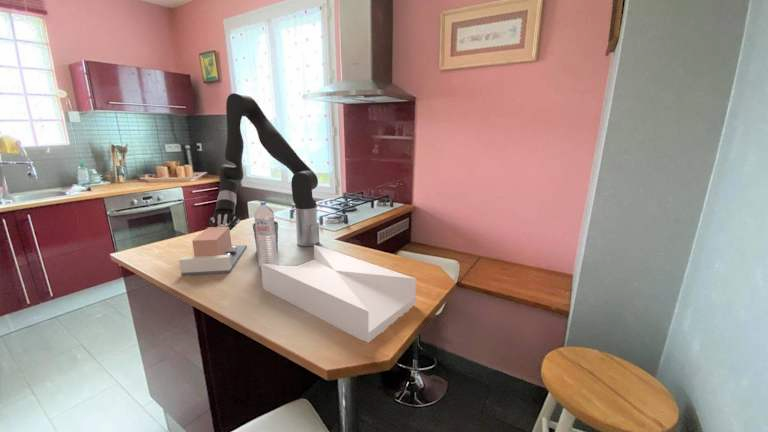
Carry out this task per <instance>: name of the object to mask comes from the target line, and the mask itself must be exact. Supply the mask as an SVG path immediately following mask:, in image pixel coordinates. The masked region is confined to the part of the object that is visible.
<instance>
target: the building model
mask: <svg viewBox="0 0 768 432" xmlns="http://www.w3.org/2000/svg"><path fill="white" fill-rule="evenodd" d="M313 258H314V259H312V260H310V261H307V262H305V263H301V264H299V265H296V266H292V265H289V266H288V265H282V264H281V265H280V264H277V265H272V264H263V263H261V268H260V269H261V281H262V289H263V290H265V291H267V292H269V293H271V294H272V295H275V296H277V297H279V298H280V299H283V301H286V302H288V303H290V304H291V305H294V306H296V307H297V308H300V309H301V310H303V311H306V312H307V313H309V314H311V315H313V316H315V317H317V318H318V319H321V320H322V321H324V322H326V323H327V324H330V325H332V326H334V327H336V328H338V329H339V330H342V331H343V332H345V333H347V334H348V335H351V336H353V337H355V338H357V339H358V338H359V340H360V339H361V341H362V340H364V341H366V342H368V343H369V342H370V341H371V340H372V339H374V338H375V337H376V336H377V335H378V334H379V333H381V332H382V331H383V330H384V329H385V328H387V327H388V326H389V325H390V324H392V323H393V322H394V321H395V320H396V319H397V318H398V317H400V316H401V315H402V314H403V313H405V312H406V311H407V310H408V309H409V308H411V307H412V306H413V305H414V304H415V305H416V295H417V294H416V293H417V292H416V291H417V277H412V276H409V275H406V274H404V273H401V272H398V271H394V270H391V269H390V268H389V269H388V268H385V267H382V266H380V265H376V264H373V263H370V262H367V261H365V260H361V259H358V258H355V257H353V256H349V255H346V254H343V253H341V252H338V251H335V250H332V249H328V248H325V247H322V246H319V245H317V244H315V245H314V246H313ZM393 324H394V323H393ZM393 324H392V325H393ZM388 328H389V327H388ZM388 328H387V329H388ZM383 332H384V331H383ZM383 332H382V333H383ZM382 333H381V334H382ZM377 337H378V336H377ZM377 337H376V338H377ZM376 338H375V339H376ZM375 339H374V340H375ZM364 341H363V342H364ZM372 341H373V340H372ZM372 341H371V342H372ZM366 342H365V343H366ZM371 342H370V343H371ZM368 343H367V344H368ZM370 343H369V344H370Z"/></svg>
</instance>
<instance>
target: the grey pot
mask: <svg viewBox="0 0 768 432" xmlns="http://www.w3.org/2000/svg"><path fill="white" fill-rule="evenodd" d="M274 226H275V235H276V249H277V251H278V249H279V248H278V243H279V242H278V241H279V237H278V236H279V223H278V221H275V220H274ZM252 229H253V235H254V236H253V237H254V240H255V246H256V250H257V241H256V226H255V222H254V223H253V224H252Z"/></svg>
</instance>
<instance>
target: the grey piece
mask: <svg viewBox="0 0 768 432" xmlns="http://www.w3.org/2000/svg"><path fill="white" fill-rule="evenodd" d="M234 246H235V247H237V252H236V253H230V254H231V255H232V259H231V257H230V255H214V256H194V255H193V256H182V257H180V259H179V260H178V261H179V267H180V272H181V276H194V275H210V274H212V275H213V274H229V273H231V272H232V270H233V269H234V268H235V266H236V264H237V263H238V262H239V260H240V258H241V257H242V255H243V254H244V253H245V251H246V250H247V248H248V247H247V246H248V245H247V244H244V245H243V244H242V245H240V244H239V245H234Z"/></svg>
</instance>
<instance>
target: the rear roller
mask: <svg viewBox="0 0 768 432" xmlns="http://www.w3.org/2000/svg"><path fill="white" fill-rule="evenodd" d="M235 246H236V245H231V246H230V247H229V249H228V250H227V251H226V252H225V253H229V254H230V253H236V252H237V247H235Z"/></svg>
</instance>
